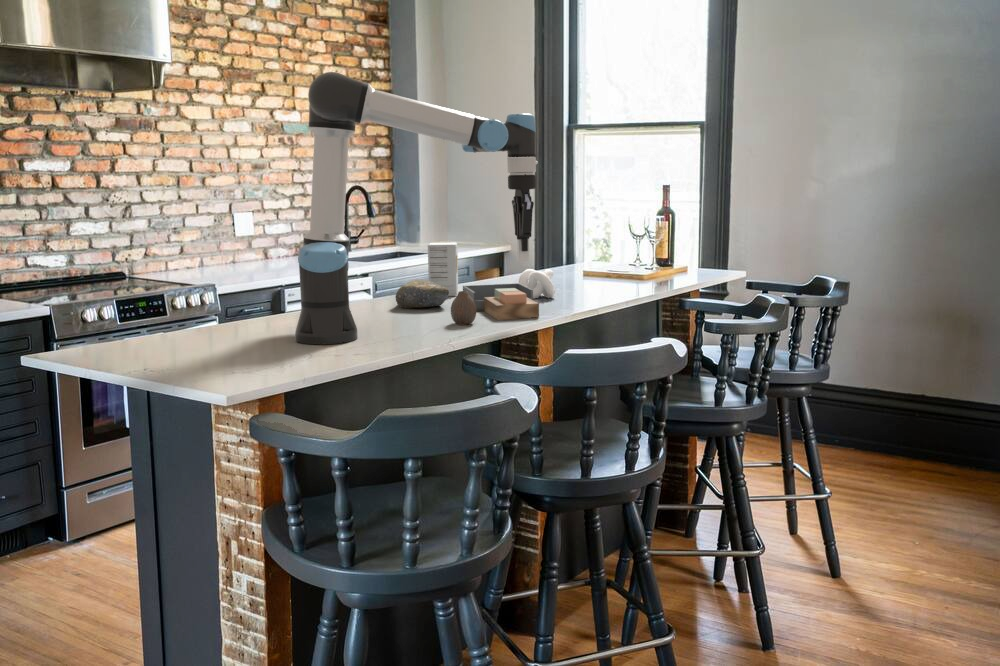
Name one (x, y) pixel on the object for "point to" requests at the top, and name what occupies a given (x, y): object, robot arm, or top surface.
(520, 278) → the white knot sculpture
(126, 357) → the top surface
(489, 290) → the box
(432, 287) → the stone
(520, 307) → the wooden block
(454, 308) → the vase
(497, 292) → the tile
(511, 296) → the tile
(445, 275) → the supplement box
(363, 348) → the top surface
